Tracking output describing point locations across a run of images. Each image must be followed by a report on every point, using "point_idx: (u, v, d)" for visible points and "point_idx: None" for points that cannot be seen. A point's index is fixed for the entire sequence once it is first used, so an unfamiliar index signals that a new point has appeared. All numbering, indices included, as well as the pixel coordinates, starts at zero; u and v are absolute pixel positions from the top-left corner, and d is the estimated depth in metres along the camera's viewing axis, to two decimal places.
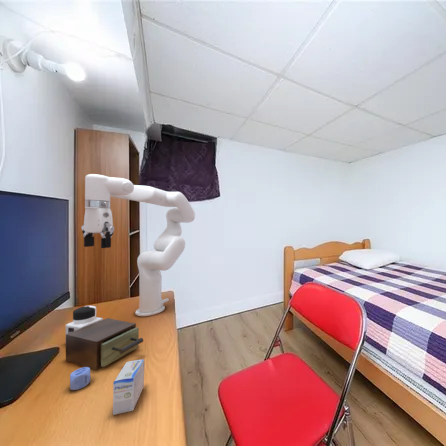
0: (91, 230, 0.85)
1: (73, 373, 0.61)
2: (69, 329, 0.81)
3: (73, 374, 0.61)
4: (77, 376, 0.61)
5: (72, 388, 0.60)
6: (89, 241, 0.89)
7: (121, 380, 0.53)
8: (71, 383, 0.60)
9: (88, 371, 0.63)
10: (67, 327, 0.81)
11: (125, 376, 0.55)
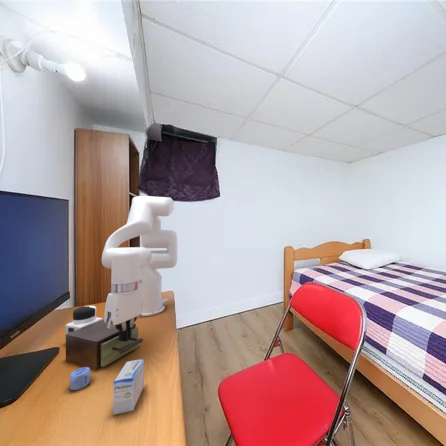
0: (130, 316, 0.73)
1: (73, 373, 0.61)
2: (69, 329, 0.81)
3: (73, 374, 0.61)
4: (77, 376, 0.61)
5: (72, 388, 0.60)
6: None
7: (121, 380, 0.53)
8: (71, 383, 0.60)
9: (88, 371, 0.63)
10: (67, 327, 0.81)
11: (125, 376, 0.55)
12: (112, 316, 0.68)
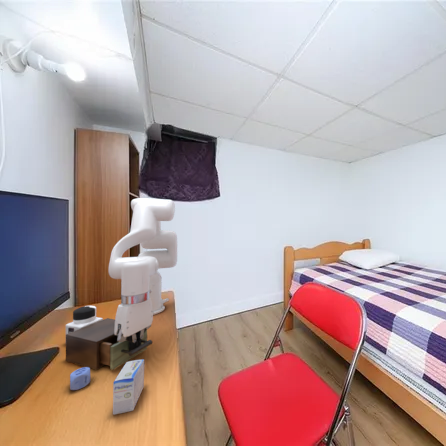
0: (140, 328, 0.72)
1: (73, 373, 0.61)
2: (69, 329, 0.81)
3: (73, 374, 0.61)
4: (77, 376, 0.61)
5: (72, 388, 0.60)
6: None
7: (121, 380, 0.53)
8: (71, 383, 0.60)
9: (88, 371, 0.63)
10: (67, 327, 0.81)
11: (125, 376, 0.55)
12: (122, 328, 0.67)
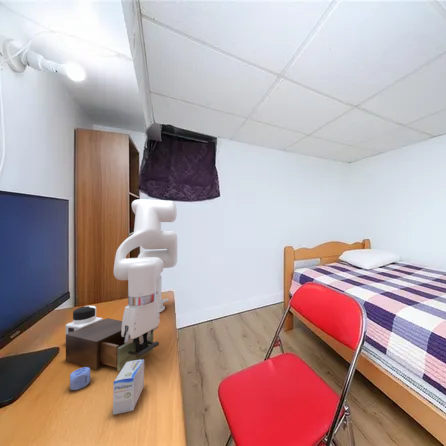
0: (147, 329, 0.71)
1: (73, 373, 0.61)
2: (69, 329, 0.81)
3: (73, 374, 0.61)
4: (77, 376, 0.61)
5: (72, 388, 0.60)
6: None
7: (121, 380, 0.53)
8: (71, 383, 0.60)
9: (88, 371, 0.63)
10: (67, 327, 0.81)
11: (125, 376, 0.55)
12: (130, 330, 0.66)
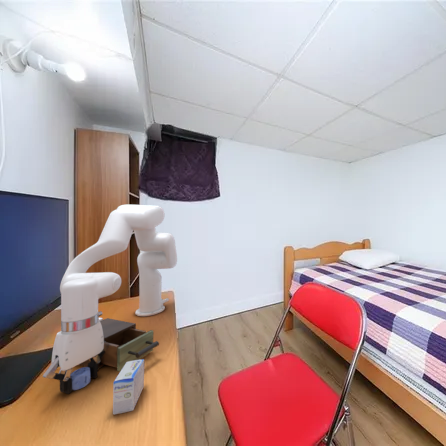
0: (86, 358, 0.62)
1: (73, 373, 0.61)
2: None
3: (73, 374, 0.61)
4: (77, 376, 0.61)
5: (72, 388, 0.60)
6: None
7: (121, 380, 0.53)
8: None
9: (88, 371, 0.63)
10: None
11: (125, 376, 0.55)
12: (60, 361, 0.57)
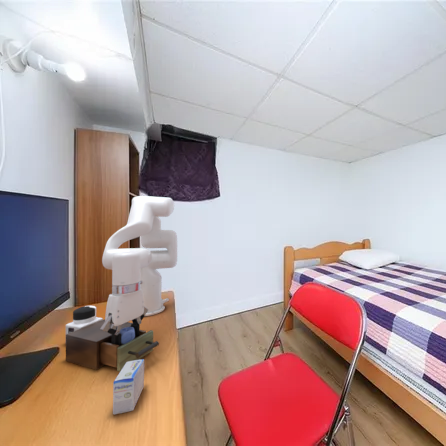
0: (131, 317, 0.73)
1: (121, 330, 0.73)
2: (69, 329, 0.81)
3: (121, 331, 0.72)
4: (125, 332, 0.72)
5: (121, 342, 0.71)
6: None
7: (121, 380, 0.53)
8: None
9: (133, 329, 0.74)
10: (67, 327, 0.81)
11: (125, 376, 0.55)
12: (113, 317, 0.68)
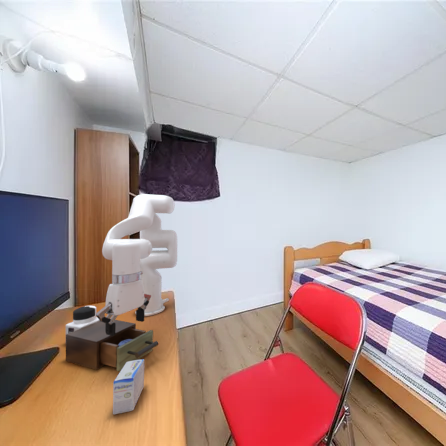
0: (131, 307, 0.73)
1: (120, 343, 0.73)
2: (69, 329, 0.81)
3: (121, 344, 0.73)
4: None
5: None
6: None
7: (121, 380, 0.54)
8: None
9: None
10: (67, 327, 0.81)
11: (125, 376, 0.55)
12: (113, 307, 0.68)
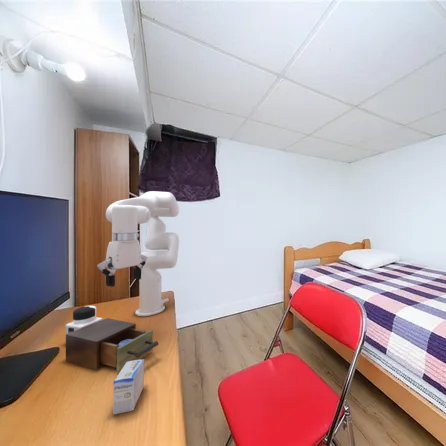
0: (129, 264, 0.81)
1: (120, 343, 0.73)
2: (69, 329, 0.81)
3: (121, 344, 0.73)
4: None
5: None
6: None
7: (121, 380, 0.54)
8: None
9: None
10: (67, 327, 0.81)
11: (125, 376, 0.55)
12: (113, 260, 0.76)
